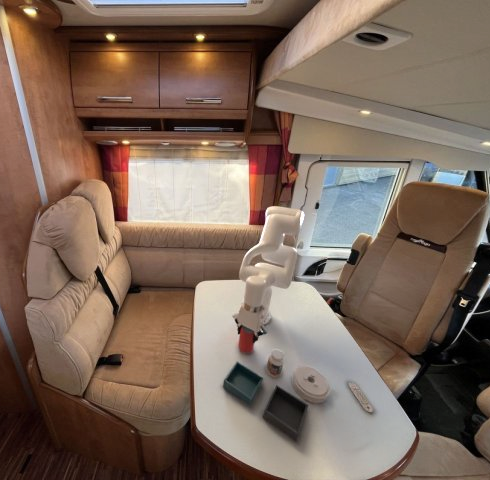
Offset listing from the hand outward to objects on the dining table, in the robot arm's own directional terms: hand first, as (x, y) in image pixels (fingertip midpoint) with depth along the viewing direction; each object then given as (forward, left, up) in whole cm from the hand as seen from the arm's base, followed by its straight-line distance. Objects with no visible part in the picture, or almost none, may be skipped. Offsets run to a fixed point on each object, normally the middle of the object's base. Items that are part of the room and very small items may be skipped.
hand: (247, 336), depth 102 cm
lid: (+1, +27, -7) cm, 28 cm away
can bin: (+16, +23, -7) cm, 29 cm away
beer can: (0, 0, -7) cm, 7 cm away
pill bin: (+16, +7, -7) cm, 19 cm away
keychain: (-7, +43, -7) cm, 44 cm away
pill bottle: (+3, +14, -7) cm, 16 cm away
